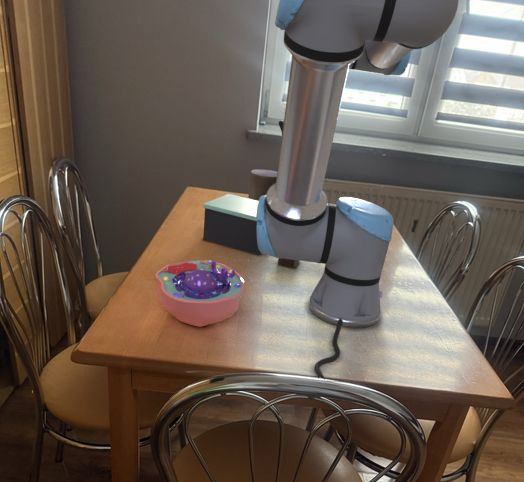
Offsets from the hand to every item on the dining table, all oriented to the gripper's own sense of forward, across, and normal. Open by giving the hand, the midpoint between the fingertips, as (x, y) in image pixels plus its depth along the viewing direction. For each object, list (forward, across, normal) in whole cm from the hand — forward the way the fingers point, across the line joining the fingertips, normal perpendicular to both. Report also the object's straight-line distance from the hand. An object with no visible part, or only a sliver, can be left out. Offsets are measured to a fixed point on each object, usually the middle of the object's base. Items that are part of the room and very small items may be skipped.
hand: (294, 194), depth 129 cm
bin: (+16, +13, 0) cm, 20 cm away
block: (+15, -4, +7) cm, 17 cm away
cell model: (+15, 0, +46) cm, 49 cm away
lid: (+7, +13, 0) cm, 15 cm away
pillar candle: (+16, +18, -25) cm, 35 cm away
